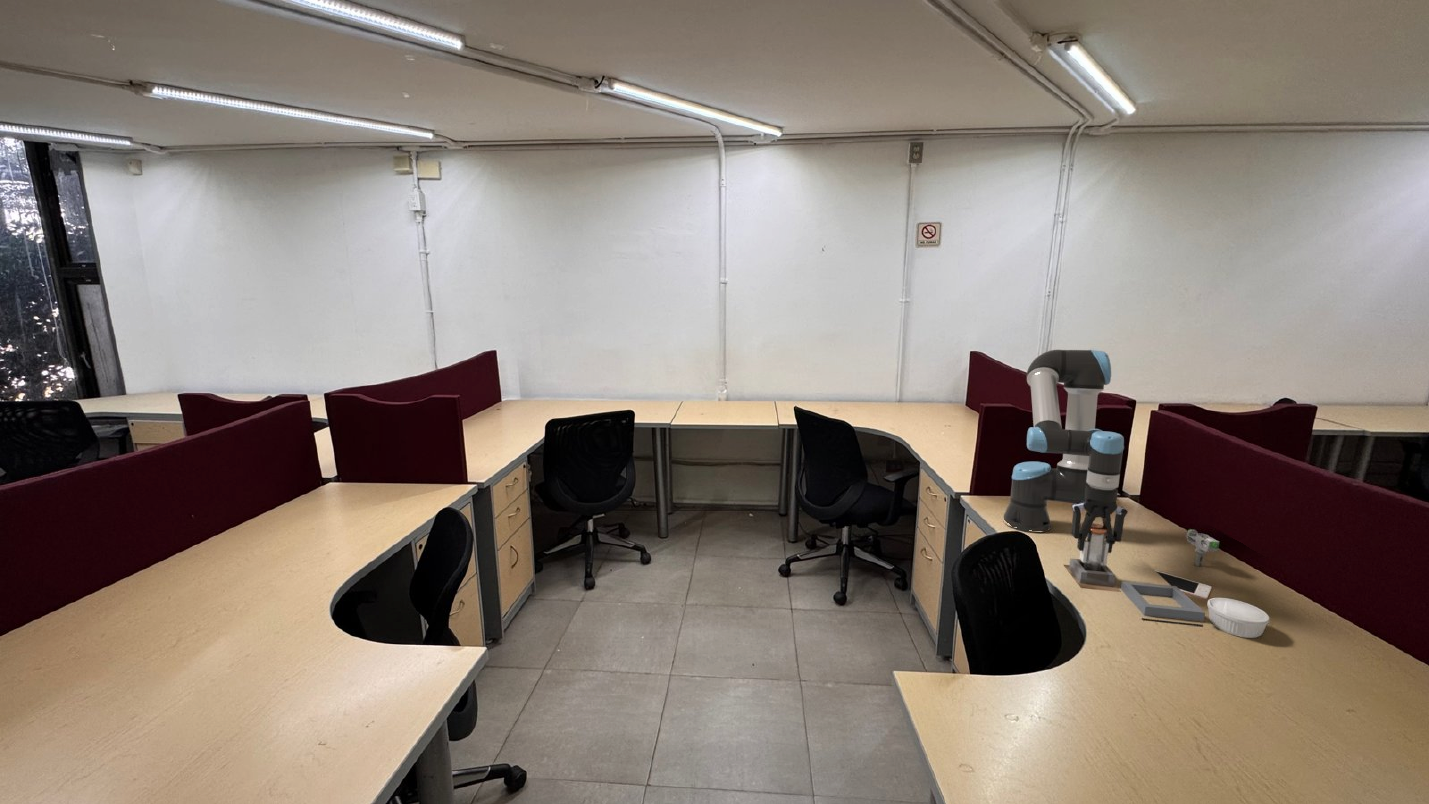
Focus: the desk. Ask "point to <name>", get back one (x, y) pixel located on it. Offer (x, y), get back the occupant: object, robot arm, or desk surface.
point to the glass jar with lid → (1095, 547)
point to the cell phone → (1187, 585)
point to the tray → (1185, 612)
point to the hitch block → (1092, 576)
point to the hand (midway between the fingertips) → (1092, 561)
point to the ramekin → (1237, 617)
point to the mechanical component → (1201, 544)
